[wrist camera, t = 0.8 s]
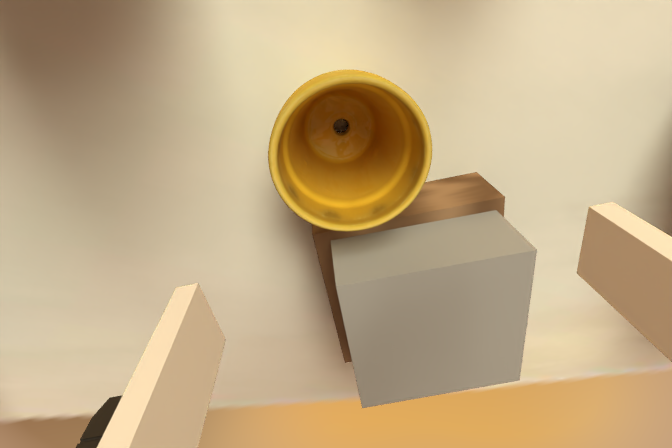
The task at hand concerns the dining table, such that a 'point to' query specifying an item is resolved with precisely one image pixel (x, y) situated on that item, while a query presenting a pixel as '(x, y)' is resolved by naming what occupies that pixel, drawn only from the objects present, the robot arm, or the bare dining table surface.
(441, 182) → the walnut base block
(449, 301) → the grey top block
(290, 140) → the plant pot
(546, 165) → the dining table surface
